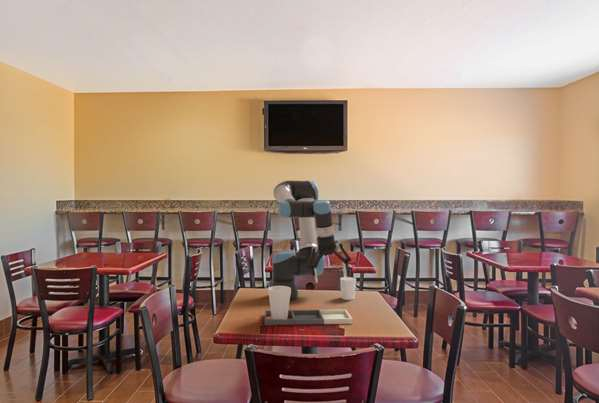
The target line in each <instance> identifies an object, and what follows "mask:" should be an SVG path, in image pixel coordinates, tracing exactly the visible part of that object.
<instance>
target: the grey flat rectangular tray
mask: <svg viewBox="0 0 599 403" xmlns="http://www.w3.org/2000/svg"><path fill="white" fill-rule="evenodd" d="M267 316H271V309H269V310H266V309H265V310H264V326H285V325H286V326H289V325H290V326H292V325H293V326H294V325H295V326H297V325H301V326H302V325H347V324H348V325H349V324H353V317H352V316H351V314H350V313H349V312H348V310H347V309H341V308H340V309H337V308H336V309H288V316H291V318H287V319H273V320H272V319H267Z"/></svg>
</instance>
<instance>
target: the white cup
mask: <svg viewBox="0 0 599 403" xmlns="http://www.w3.org/2000/svg"><path fill="white" fill-rule="evenodd" d="M339 281H340V282H339V283H340V298H341V300H344V301H345V300H346V301H352V300H355V298H356V285H357V278H356V277H350V276H347V277H346V278H345V276H344V277H340V280H339Z"/></svg>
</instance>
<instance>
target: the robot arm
mask: <svg viewBox="0 0 599 403" xmlns="http://www.w3.org/2000/svg"><path fill="white" fill-rule="evenodd" d="M273 197H274V199H275V200H276V201H277V202H278V205H277V206H278V207H277V212H278V217H280V218H292V219H293V218H297V219H298V225H299V226H298V228H299V238H300V239H299V240H300V248H299V249H298V251H296V250H295V249H285V250H279V251H275V252H274V253H273V255H272V261H271V263H272V270H271V271H272V273H271V274H272V276H271V277H272V278H271V285H270V287H273V286H287V287H290V288H291V295H290V301H293V300H296V299H298V298H299V291H298V287H297V284H296V277H304V276H305V277H308V276H309V277H311V276H312V277H314V281H315V284H318V283H319V281H318V280H319V279H318V276H320V275H322V274H323V272H324V269H325V263H326V256H331V255H333V254H334V255H335V256H336V257H337V258H339V259H340V260H341V261H342V262H341V263H342V272H343V276H344V277H345V278H346V277H348V274H347V270H349V266H348V264H349V262H352V258H351V257H350V256H349V254H348V253H347V251H346V249H344V246H343V243H342V242H341V241H338V243H336V242H335V241H336V240H335V234H334V226H333V217H332V207H331V203H330V201H329V200H328V199H320V200H319V187H318V185H317V183H316V182H315V181H313V180H284V181H281V182H279V183H277V185H276V186H275V187H274V190H273ZM337 248H338V249H340V251H341V252H342V253H343V255H344V256H345V258H344V257H343V256H342V255H341V254H340V253H338V252H337V250H336V249H337Z"/></svg>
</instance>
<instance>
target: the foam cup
mask: <svg viewBox="0 0 599 403" xmlns="http://www.w3.org/2000/svg"><path fill="white" fill-rule="evenodd" d="M267 293H268V294H267V295H268V299H269V300H268V301H269V307H270V309H269V310H271V315H270V317H271V320H273V319H288V316H289V315H288V310H289V308H290V301H291V300H290V295H291V288H290V287H287V286H273V287H271V286H270V287H268V290H267Z"/></svg>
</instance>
